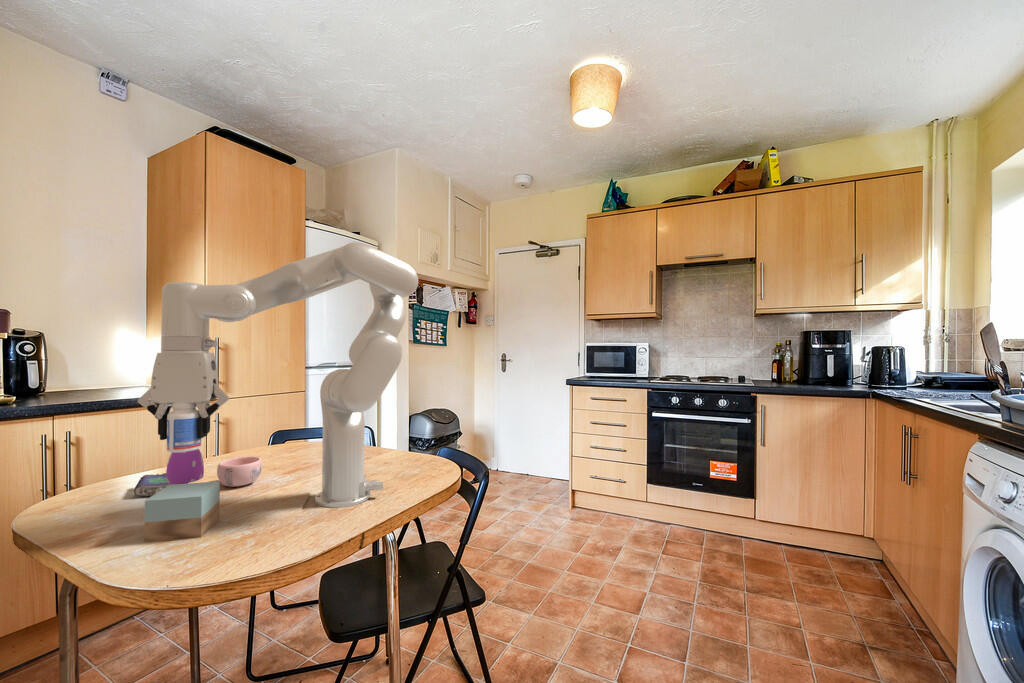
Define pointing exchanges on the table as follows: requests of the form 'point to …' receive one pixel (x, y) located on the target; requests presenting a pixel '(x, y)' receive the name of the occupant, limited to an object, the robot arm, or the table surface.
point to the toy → (185, 467)
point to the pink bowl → (239, 471)
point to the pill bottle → (182, 428)
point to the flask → (151, 485)
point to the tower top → (182, 501)
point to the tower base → (182, 526)
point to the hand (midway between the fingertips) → (184, 436)
